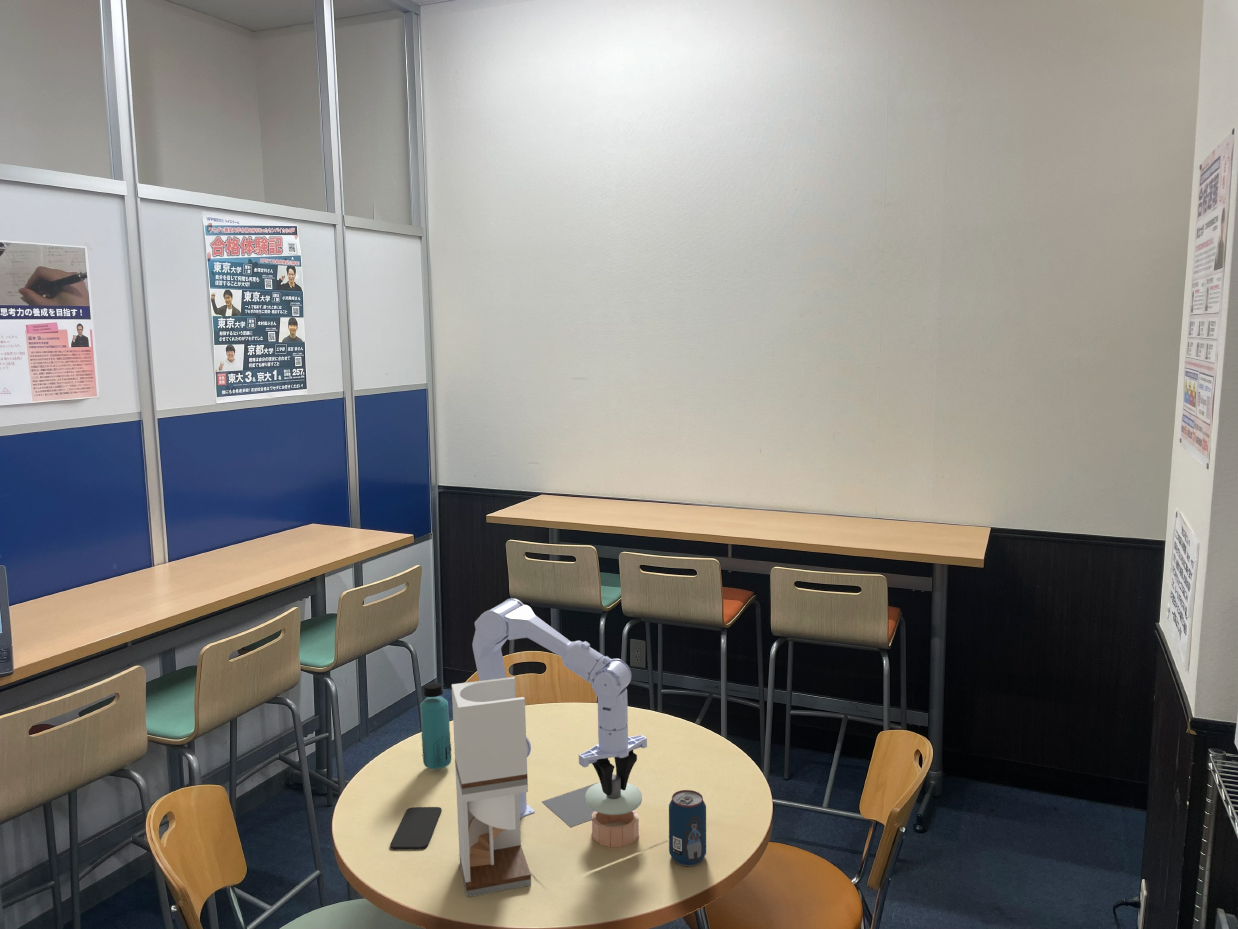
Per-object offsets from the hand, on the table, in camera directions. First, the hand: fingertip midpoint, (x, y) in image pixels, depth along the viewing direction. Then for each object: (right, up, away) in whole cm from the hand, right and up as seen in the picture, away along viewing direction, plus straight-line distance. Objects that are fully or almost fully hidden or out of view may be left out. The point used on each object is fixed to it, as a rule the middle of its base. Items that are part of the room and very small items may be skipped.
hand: (614, 790), depth 176 cm
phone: (-39, -10, +5) cm, 41 cm away
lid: (0, -2, 0) cm, 2 cm away
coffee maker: (-22, -12, -11) cm, 27 cm away
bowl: (0, -9, +1) cm, 9 cm away
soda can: (+14, -10, -7) cm, 18 cm away
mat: (-6, -8, +12) cm, 16 cm away
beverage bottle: (-40, -6, +29) cm, 50 cm away
